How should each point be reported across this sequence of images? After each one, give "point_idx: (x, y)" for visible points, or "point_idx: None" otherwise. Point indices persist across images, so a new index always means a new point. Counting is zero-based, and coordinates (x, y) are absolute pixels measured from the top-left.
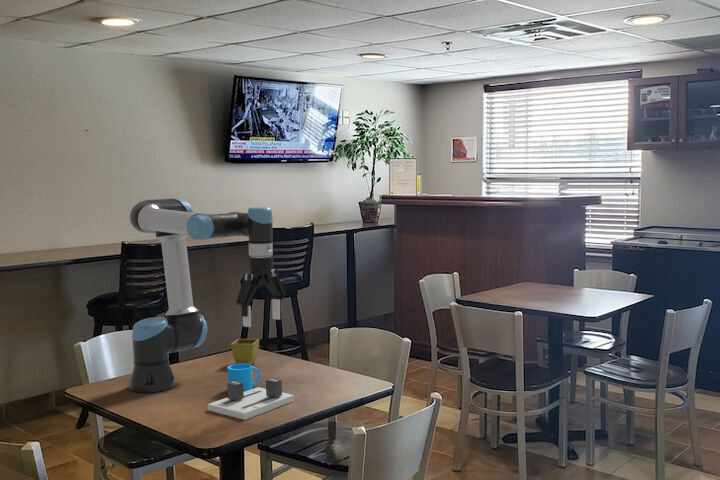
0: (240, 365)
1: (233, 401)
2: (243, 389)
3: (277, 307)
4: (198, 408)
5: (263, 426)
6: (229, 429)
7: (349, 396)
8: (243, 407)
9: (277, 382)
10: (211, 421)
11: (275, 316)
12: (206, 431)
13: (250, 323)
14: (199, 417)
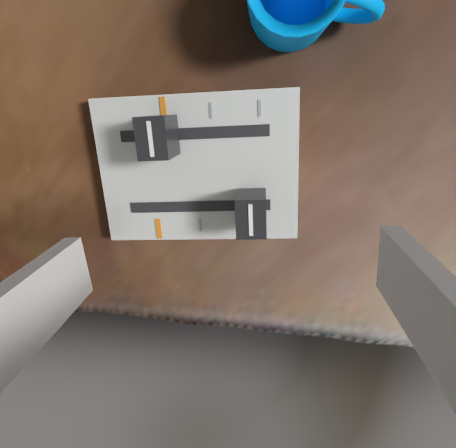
0: None
1: None
2: (270, 45)
3: (416, 335)
4: (88, 58)
5: (120, 294)
6: None
7: None
8: (135, 206)
9: (247, 238)
10: (58, 178)
11: (385, 266)
12: (17, 221)
13: (77, 302)
14: (51, 128)
